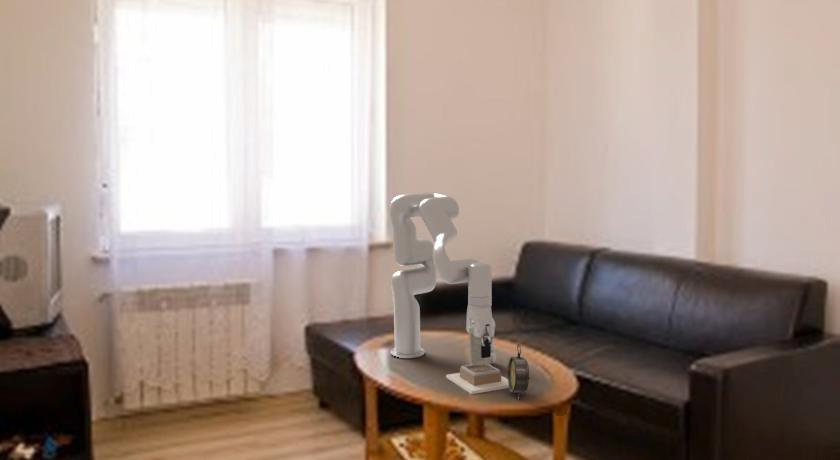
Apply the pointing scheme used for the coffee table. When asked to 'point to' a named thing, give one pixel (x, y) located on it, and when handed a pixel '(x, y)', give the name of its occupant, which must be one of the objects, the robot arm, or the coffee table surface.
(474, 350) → the skincare box
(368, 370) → the coffee table surface
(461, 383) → the display base
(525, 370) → the alarm clock
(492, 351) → the plastic bottle
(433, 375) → the coffee table surface
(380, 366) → the coffee table surface
